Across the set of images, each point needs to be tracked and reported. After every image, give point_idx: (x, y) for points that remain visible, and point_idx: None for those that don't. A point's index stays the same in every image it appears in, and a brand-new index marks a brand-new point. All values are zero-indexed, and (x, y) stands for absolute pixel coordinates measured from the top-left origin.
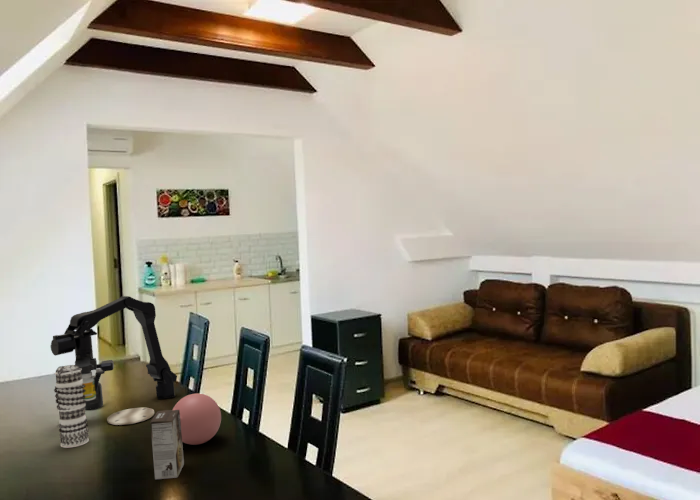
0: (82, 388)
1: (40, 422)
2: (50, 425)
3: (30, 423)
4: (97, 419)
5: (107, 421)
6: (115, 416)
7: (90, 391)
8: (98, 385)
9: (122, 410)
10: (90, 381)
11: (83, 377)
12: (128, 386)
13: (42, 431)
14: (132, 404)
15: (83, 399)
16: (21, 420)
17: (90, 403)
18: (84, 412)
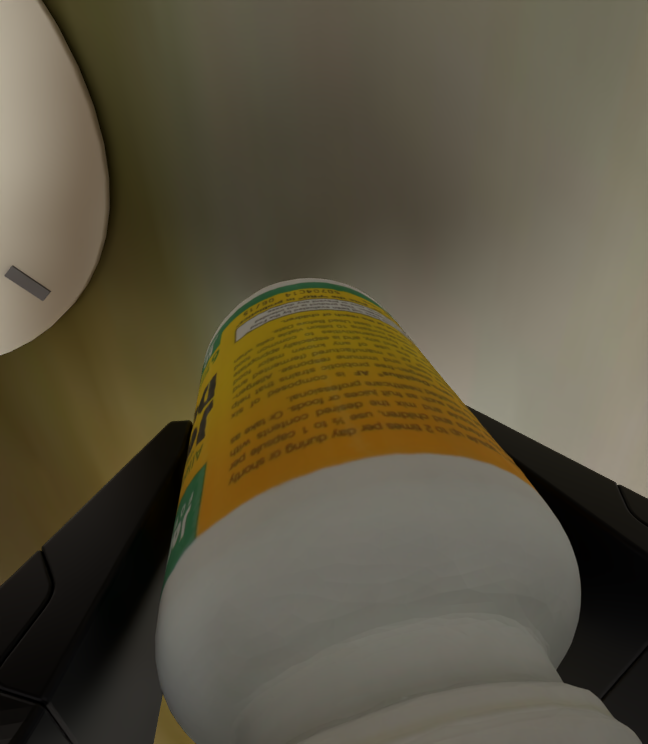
0: (436, 383)
1: (566, 398)
2: (536, 311)
3: (610, 404)
4: (225, 283)
5: (88, 94)
6: (11, 170)
7: (261, 345)
8: None
9: (8, 347)
10: (246, 527)
11: (561, 721)
12: (157, 726)
13: (610, 192)
14: (25, 513)
15: (366, 295)
16: (624, 466)
17: None
18: None
